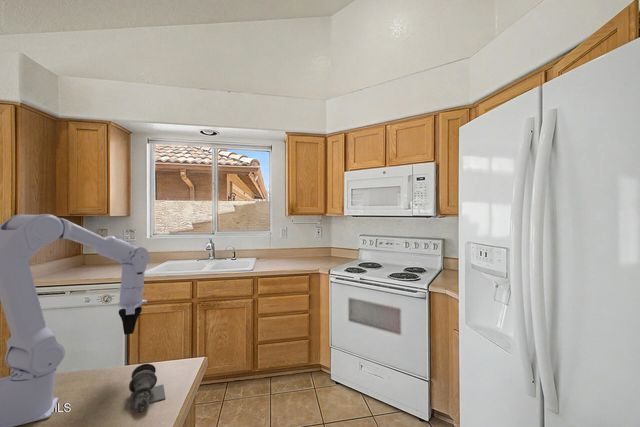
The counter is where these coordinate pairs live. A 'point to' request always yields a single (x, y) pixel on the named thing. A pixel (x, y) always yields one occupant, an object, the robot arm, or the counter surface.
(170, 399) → the counter surface
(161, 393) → the charcoal mat
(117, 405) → the counter surface
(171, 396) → the counter surface
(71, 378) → the counter surface
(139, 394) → the dark grey chess piece
